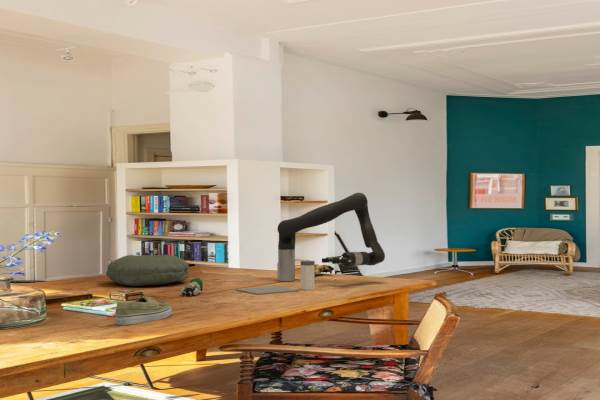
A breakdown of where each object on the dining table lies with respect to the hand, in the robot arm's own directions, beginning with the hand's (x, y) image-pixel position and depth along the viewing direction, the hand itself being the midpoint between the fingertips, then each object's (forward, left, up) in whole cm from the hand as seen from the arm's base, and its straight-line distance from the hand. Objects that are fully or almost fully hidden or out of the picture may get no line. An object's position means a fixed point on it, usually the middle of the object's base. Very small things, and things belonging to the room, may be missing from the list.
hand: (327, 261), depth 373 cm
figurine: (-48, +30, -14) cm, 58 cm away
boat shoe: (+39, -116, -14) cm, 123 cm away
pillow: (-66, -67, -14) cm, 95 cm away
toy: (-14, -69, -14) cm, 71 cm away
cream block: (0, -12, -13) cm, 18 cm away
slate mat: (-6, -32, -13) cm, 35 cm away
